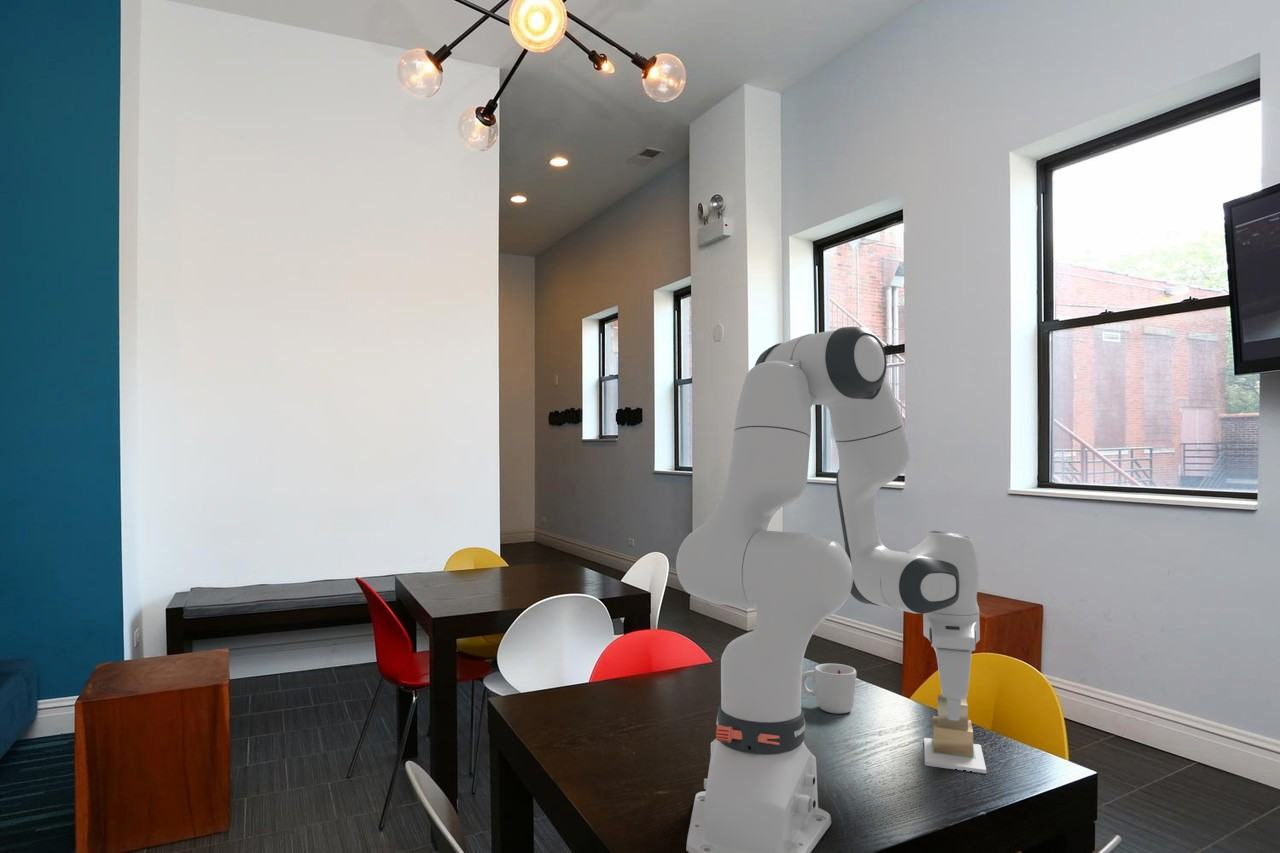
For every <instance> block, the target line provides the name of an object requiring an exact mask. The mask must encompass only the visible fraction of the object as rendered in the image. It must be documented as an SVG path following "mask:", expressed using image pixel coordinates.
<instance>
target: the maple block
mask: <svg viewBox="0 0 1280 853" xmlns="http://www.w3.org/2000/svg"><path fill="white" fill-rule="evenodd" d="M968 706H969V705H968V701H967V698H966V699H965V700H961V704H960V719H959V720H958V721H954V720H949V719H948V713H947V698H945V697H943V695H942V694H937V716H938V726H939V727H944V728H953V729H961V730H968V720H969V711H968V710H969V707H968Z"/></svg>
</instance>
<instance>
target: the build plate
mask: <svg viewBox="0 0 1280 853" xmlns="http://www.w3.org/2000/svg"><path fill="white" fill-rule="evenodd" d="M923 744H924V745H923V746H924V749H923V750H924V752H923V753H924V766H926V767H927V766H928V767H935V768H942V769H949V770H950V769H951V770H955V769H957V771H963V770H966V771H965V772H970V771H972V772H971V773H977V774H978V773H979V774H987V766H986V762H985V758H984V753H983V749H982V745H981V744H978V743H973V752H974V757H968V756H960V755H952V754H945V753H937V752H934V742H933V738H929V737H924V738H923Z"/></svg>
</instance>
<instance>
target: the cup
mask: <svg viewBox="0 0 1280 853" xmlns="http://www.w3.org/2000/svg"><path fill="white" fill-rule="evenodd" d="M807 677H811V678H812V679H813V683H814V689H809V688H808V686H807V683H806V679H807ZM856 681H857V670H856V669H855V667H852V666H850V665H846V664H841V663H821V664H817V665H815V667H814V669H813V670H807V671H805V672H802V684H801V690H803V692H804V693H805V694H807V695H809V696H813V697H816V699H817V703H818V706H819V708H820V709H821V710H822V711H824V712H827V713H830V714H836V715H837V714H847V713H849V712H851V711H852V710H853V707H854V702H855V691H856Z"/></svg>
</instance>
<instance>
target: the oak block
mask: <svg viewBox="0 0 1280 853" xmlns="http://www.w3.org/2000/svg"><path fill="white" fill-rule="evenodd" d="M932 731H933V732H932V734H933V735H932V739H933V742H934V752H937V753H945V754H952V755H960V756H968V757H974V752H973V744H974V729H973V724H972V720H970V719H968V730H961V729H953V728H944V727H939V726H938V715H937V716H936V715H932Z"/></svg>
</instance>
